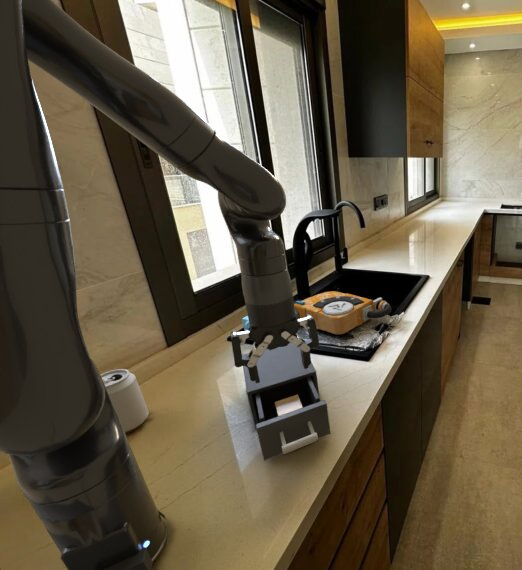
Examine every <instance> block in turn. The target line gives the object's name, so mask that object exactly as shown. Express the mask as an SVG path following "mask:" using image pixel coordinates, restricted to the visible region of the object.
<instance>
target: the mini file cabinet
mask: <svg viewBox="0 0 522 570" xmlns="http://www.w3.org/2000/svg"><path fill="white" fill-rule="evenodd" d="M295 395H298V396H299V399H300V401H301V404H302V407H303V408H301V409H298V410H295V411H292V412H289V413H287V414H284V415H281V416H278V417H277V412H276V407H275V402H277V401H280V400H283V399H286V398H289V397H292V396H295ZM255 397H256V403H257V408H258V414H259V419H260V423H258V424H256V429H255V430H256V433H257V437H258V441H259V446H260V450H261V454H262V458H263V461H267V460H270V459H273V458H275V457H277V456H280V455H285V454H288V453H290V452H293V451H295V450H298V449H300V448H303V447H305V446H308V445H311V444H313V443H315V442H317V441H319V439H322V438H324V437H327V436H329V435H331V428H330V427H331V425H330V419H329V412H328V404H327V402H326V400H325V399H324V400H321V397H320V394H319V395H318V393H317V391H316V389H315V386H314V384H313V382H312V380H311V377H310V376H309V377H306V378H303V379H300V380H296V381H293V382H290V383H287V384H284V385H280V386H277V387H274V388H271V389H268V390H264V391H261V392H258V393H255ZM319 397H320V398H319Z"/></svg>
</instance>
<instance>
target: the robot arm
mask: <svg viewBox="0 0 522 570" xmlns="http://www.w3.org/2000/svg"><path fill="white" fill-rule="evenodd" d="M29 62H30V63H31V64H33V65H34V66H36V67H38V68H39V69H41V70H42V71H43V72H44V73H46V74H48V75H49V76H51V77H52V78H54V79H55V80H56V81H58V82H59V83H61V84H63V85H64V86H65V87H67V89H70V91H72V92H74V93H75V94H76V95H78V96H80V98H82V99H83V100H85V102H88V103H89V104H90V105H91V106H93V107H94V108H96V110H98V111H100V112H101V113H102V114H104V115H105V116H106V117H108V118H109V119H110V120H112V121H113V122H114V123H115V124H117V125H118V126H119V127H121V128H122V129H123V130H125V131H126V132H128V133H129V134H130V135H132V136H133V137H134V138H136V139H137V140H138V141H139V142H141V143H142V144H143V145H145V146H146V147H147V148H149V149H150V150H151V151H153V152H154V153H155V154H157V155H158V156H159V157H161V158H162V159H163V160H164V161H166V162H168V164H170V165H172V166H173V167H174V168H176V169H177V170H178V171H180V172H181V173H183V174H184V175H185V176H187V177H189V178H191V179H193V180H195V181H198V182H201V183H204V184H206V185H208V186H210V187H212V189H214V190H215V191H217V200H218V206H219V209H220V213H221V216H222V217H223V220H224V222H225V225H226V228H227V230H228V232H229V234H230V236H231V238H232V240H233V243H234V244H235V247H236V254H237V260H238V264H239V265H238V266H239V271H240V275H241V276H240V277H241V289H242V295H243V298H244V303H245V309H246V313H247V316H248V319H249V324H250V327H249V330H248V331H245V330H244V331H238V330H236V329H233V330H231V331H230V342H231V348H232V355H233V361H234V366H235V367H236V368H241V367H243V366H246V367H248V370H249V375H250V380H251V381H255V382H256V383H259V382H260V379H259V375H258V370H257V365H256V362H257V361H258V359H259V358H260V357H261V356H262V355H263V353H264V351H265V350H266V349H269V350H273V349H275V348H277V347H284V346H288V344H289V343H290V342H291V343H292V344H293V345H295V346H296V347H299V348H300V351H301V358H302V364H303V367H304V369H307V368H308V365H310V364H311V362H312V358H311V357H312V356H311V350H312V348H313V349H314V348H316V347H319V346H320V340H319V333H318V329H317V328H316V323H315V320H314V318H313V317H312V315H310V314H308V315H306V317H305V318H302V319H297V318H296V314H295V307H294V302H295V299H294V293H293V287H292V281H291V276H290V273H289V269H288V263H287V256H286V249H285V244H284V241H283V239H282V237H281V236H280V235H279V234H277V233H276V232H275V231H273V230H272V228H271V225H270V223H269V221H272V220H275V219H277V218H279V217H280V216H281V215H282V214H283V213H284V211H285V209H286V205H287V196H286V193H285V189H284V188H283V186H282V184H281V183H280V181H279V180H278V179H277V178H276V176H274V175H273V173H271V172H270V171H269V170H268V169H266V168H265V167H264V166H262V165H261V164H260V163H259V162H257V161H256V160H255V159H254V158H251V156H249V155H247V154H246V153H245V152H243V151H241V150H240V149H238V148H237V147H236V146H233V145H232V144H230V143H229V142H228V141H227V140H225V139H224V138H223V137H222V136H221V135H220V134H219V133H218V132H217V131H216V130H215V129H214V128H213V127H212V126H211V125H210V124H209V123H208V122H206V120H204V119H203V118H202V117H201V116H200V115H199V114H198V113H197V112H195V110H193V108H191V106H189V105H188V104H187V103H186V102H185V101H184V100H182V98H180V97H179V96H177V95H176V94H175V93H174V92H172V91H171V90H170V89H169V88H167V87H166V86H165V85H163V84H162V83H161V82H160V81H158V80H156V79H155V78H154V77H152V76H151V75H150V74H148V73H146V72H145V71H143V70H142V69H141V68H139V67H137V66H136V65H134V64H133V63H132V62H130V61H129V60H127V59H126V58H125V57H123V56H121V55H120V54H119V53H118V52H116V51H114V50H113V49H112V48H110V47H109V46H107V44H105V43H103V42H102V41H101V40H99V39H98V38H96V37H95V36H94V35H93V34H91V33H90V31H88V30H87V29H85V28H84V27H83V26H82V25H80V24H79V23H78V22H77V21H76V20H75V19H74V18H72V16H70V15H69V14H68V13H67V12H66V11H64V9H62V7H60V6H59V5H58V4H57V3H56V2H55V1H54V0H0V453H2V454H5V455H8V458H9V461H10V464H11V466H12V470H13V473H14V477H15V481H16V483H17V486H18V487H19V489H20V491H21V493H23V495H24V497H25V499H26V500H27V501H28V503H29V504H30V505H31V507H32V509H33V510H34V513H36V515H37V517H38V519H39V520H40V522H41V523H42V525H43V527H44V529H45V530H46V531H47V533H48V534H49V536H50V537H51V539H52V541H53V543H54V544H55V546H56V547H57V549H58V550H59V552H60V553H61V554H60V560H61V561H62V563H63V564H64V567H65V568H66V569H67V570H152V568H153V564H154V562H156V560H157V559H158V557H159V556H160V555H161V553H162V551H163V550H164V548H165V547H166V543H167V540H168V528H167V526H166V523H165V522H164V521H163V519H164V520H167V518H166V515H165V514H164V513H163V512H161V511H160V510H159V509H158V507H157V505H156V503H155V500H154V498H153V495H152V494H151V491H150V490H149V486H148V484H147V482H146V480H145V477H144V475H143V473H142V469H141V468H140V466H139V464H138V461H137V458H136V456H135V453H134V452H133V450H132V447H131V445H130V442H129V440H128V437H127V434H126V433H125V432H124V429H123V427H122V424H121V422H120V419H119V417H118V415H117V413H116V410H115V408H114V406H113V404H112V401H111V399H110V397H109V394H108V392H107V389H106V387H105V385H104V382H103V380H102V377H101V375H100V374H101V373H100V371H99V368H98V367H97V365H96V363H95V361H94V360H93V359H92V358H91V356H90V354H89V351H88V347H87V345H86V342H85V339H84V336H83V332H82V329H81V325H80V320H79V315H78V302H77V301H78V300H77V298H78V297H77V271H76V259H75V248H74V241H73V239H74V238H73V233H72V224H71V218H70V213H69V209H68V203H67V198H66V193H65V189H64V184H63V179H62V175H61V172H60V168H59V165H58V160H57V156H56V154H55V150H54V146H53V142H52V139H51V135H50V131H49V128H48V125H47V122H46V117H45V115H44V112H43V109H42V106H41V103H40V100H39V96H38V93H37V90H36V87H35V85H34V81H33V78H32V74H31V73H32V72H31V69H30V64H29ZM301 326H302V327H303V328H304V329H305V330H307V333H308V338H309V339H307V340H305V339H304V338H303V337H301V336H300V335H299V334H298V331H299V330H300V328H301ZM247 339H250V340H251V341H252V342H253V344H252V346H251V348H250V350H249V352H247V353H248V355H247V356H242V355H243V353H242V346H244V344H245V343H246V340H247ZM162 518H163V519H162Z"/></svg>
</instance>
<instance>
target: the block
mask: <svg viewBox="0 0 522 570" xmlns="http://www.w3.org/2000/svg"><path fill="white" fill-rule="evenodd" d="M275 407H276V412H277V417H278V416H281V415H284V414H287V413H289V412H292V411H295V410H298V409H301V408H303V407H302V404H301V401H300V399H299V396H298V395H295V396H292V397H289V398H286V399H283V400H280V401H277V402H275Z"/></svg>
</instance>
